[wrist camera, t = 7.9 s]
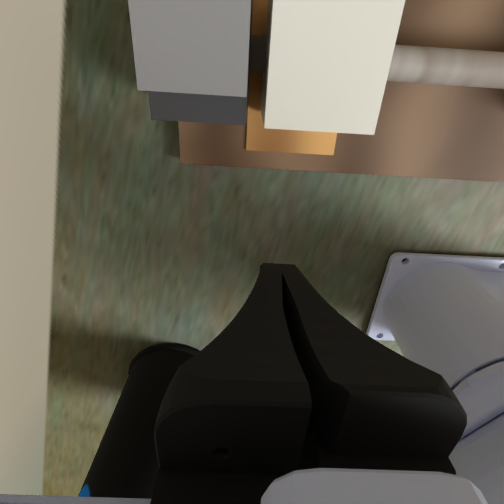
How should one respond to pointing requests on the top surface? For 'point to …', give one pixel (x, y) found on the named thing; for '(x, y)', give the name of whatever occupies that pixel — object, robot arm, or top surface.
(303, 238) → the top surface
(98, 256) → the top surface
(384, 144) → the rail board
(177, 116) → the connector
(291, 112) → the sleeve
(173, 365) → the aerosol can
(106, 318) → the top surface
